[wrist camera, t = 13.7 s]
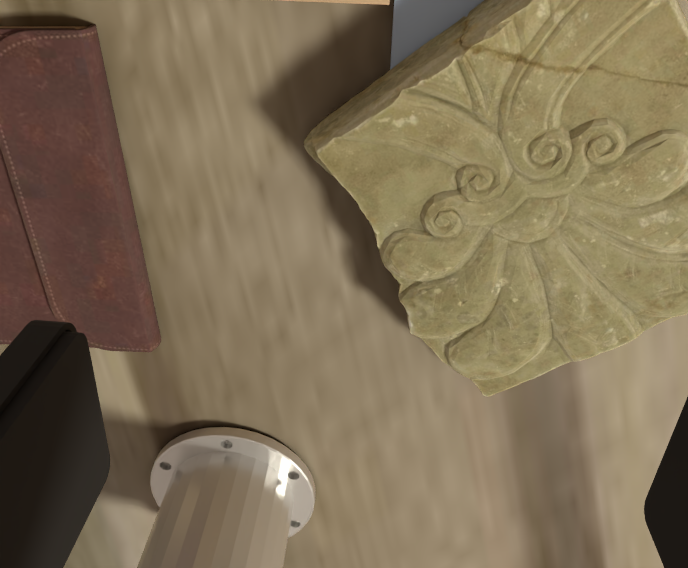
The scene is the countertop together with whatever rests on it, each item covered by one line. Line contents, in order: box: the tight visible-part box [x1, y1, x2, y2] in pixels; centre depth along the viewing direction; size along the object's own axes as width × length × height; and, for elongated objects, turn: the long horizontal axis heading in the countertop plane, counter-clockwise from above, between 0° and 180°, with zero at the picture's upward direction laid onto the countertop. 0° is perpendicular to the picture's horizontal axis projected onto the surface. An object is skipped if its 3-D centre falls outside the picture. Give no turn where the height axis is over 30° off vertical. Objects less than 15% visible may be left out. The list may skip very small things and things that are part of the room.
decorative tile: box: [304, 0, 688, 397], centre depth 34 cm, size 19×6×20 cm
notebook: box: [0, 24, 161, 352], centre depth 38 cm, size 15×20×2 cm
